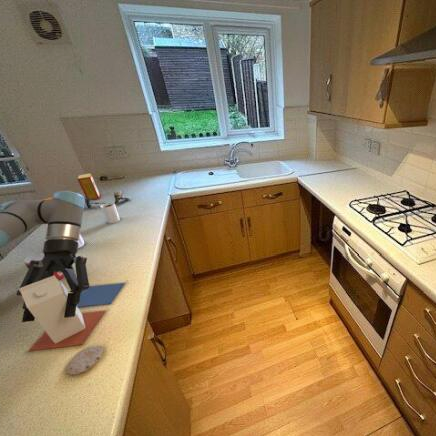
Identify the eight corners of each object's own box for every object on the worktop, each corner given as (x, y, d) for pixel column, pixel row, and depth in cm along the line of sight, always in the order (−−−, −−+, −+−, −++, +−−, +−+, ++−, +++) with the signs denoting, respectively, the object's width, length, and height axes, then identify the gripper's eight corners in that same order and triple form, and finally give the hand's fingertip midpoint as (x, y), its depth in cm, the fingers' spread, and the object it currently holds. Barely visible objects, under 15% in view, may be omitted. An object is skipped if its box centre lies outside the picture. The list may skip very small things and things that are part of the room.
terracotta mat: (28, 351, 67) (28, 350, 67) (59, 316, 78) (59, 315, 77) (82, 345, 68) (81, 344, 68) (105, 311, 79) (105, 310, 79)
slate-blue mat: (66, 308, 80) (65, 308, 80) (85, 287, 89) (84, 286, 89) (110, 304, 82) (110, 303, 81) (124, 283, 90) (124, 282, 90)
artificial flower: (91, 207, 156) (88, 191, 154) (131, 204, 164) (129, 190, 162) (85, 209, 148) (82, 192, 146) (128, 206, 156) (126, 191, 154)
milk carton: (53, 329, 73) (18, 282, 64) (82, 315, 77) (53, 269, 68) (55, 344, 68) (17, 296, 59) (86, 328, 73) (55, 281, 64)
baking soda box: (99, 198, 165) (89, 176, 158) (87, 200, 162) (77, 178, 155) (100, 194, 172) (90, 172, 165) (89, 196, 169) (78, 174, 162)
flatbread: (78, 380, 60) (77, 378, 59) (60, 369, 62) (58, 367, 62) (110, 351, 66) (109, 348, 66) (93, 342, 69) (91, 340, 69)
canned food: (60, 270, 98) (46, 248, 93) (68, 276, 95) (54, 254, 89) (35, 281, 92) (19, 258, 87) (43, 288, 89) (27, 265, 84)
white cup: (108, 219, 137) (101, 204, 132) (121, 217, 139) (115, 201, 135) (106, 224, 131) (98, 208, 127) (120, 222, 134) (113, 205, 129)
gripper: (109, 240, 77) (101, 313, 71) (33, 246, 75) (18, 322, 69) (93, 234, 70) (82, 315, 64) (8, 241, 68) (-12, 326, 62)
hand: (49, 319), depth 66 cm, fingers closed on milk carton, 10 cm apart
